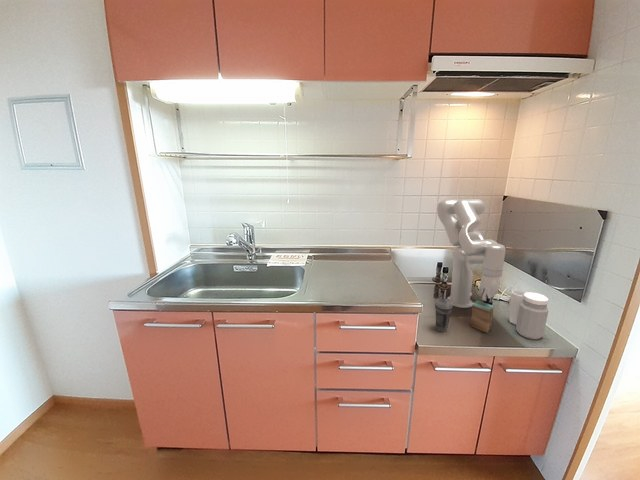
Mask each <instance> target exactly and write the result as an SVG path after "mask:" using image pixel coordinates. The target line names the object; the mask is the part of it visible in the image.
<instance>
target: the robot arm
mask: <svg viewBox="0 0 640 480" xmlns="http://www.w3.org/2000/svg"><path fill="white" fill-rule="evenodd" d="M436 207H437V208H436V209H437V211H436V212H437V216H438V219H439V220H440V222H441V223H442V225H443V227H444V229H445V232H446V234H447V237H448V240H449V243H450V244H451V245H452V246H453V247H456V248H454V249H453V251H452V274H451V275H452V276H451V284H450V285H451V287H450V295H449V296H448V297H447V298H448V299H449V300H450V301H451V303H452V307H455V308H459V309H460V308H462V309H469V308H472V306H473V303H474V301H472V299H471V296H473V293H472V288H473V280H474V278H473V277H474V272H473V270H472V269H471V267H470V266H471V265H482V271H481V274H482V276H481V278H480V283H479V289H478V293H477V294H478V296H479V297H480V296H482V298H481V300H482V302H484V303H487V304H490V305H493V303H494V297H495V296H497V294H498V293H499V289H500V284H501V283H500V282H501V278H502V276H503V272H504V271H503V269H504V263H505V256H506V247H505V245H503V244H501V243H499V242H497V241H496V240H493V239H490V238H489V239H485V238H484V236H483V234H482V232H481V231H480V230H478V228H479V227H480V225H481V223H482V221H481V218H480V216H481V215H483V214H484V213H485V210H486V205H485V203H484V201H483V200H482V199H480V198H449V199H448V198H447V199H443V200H441V201H440V202H438V204H437V205H436ZM454 215H456V216H454ZM479 215H480V216H479Z"/></svg>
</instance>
